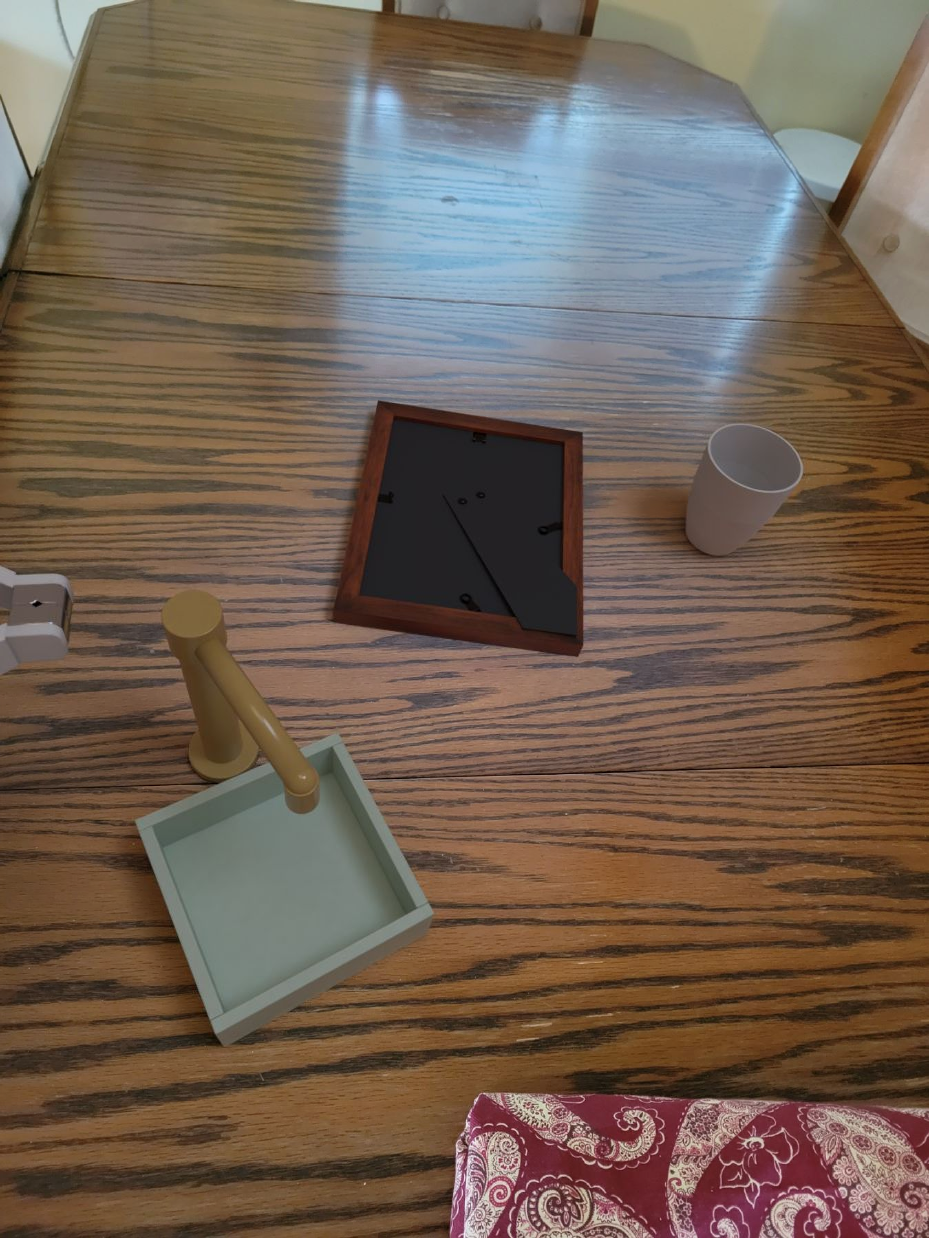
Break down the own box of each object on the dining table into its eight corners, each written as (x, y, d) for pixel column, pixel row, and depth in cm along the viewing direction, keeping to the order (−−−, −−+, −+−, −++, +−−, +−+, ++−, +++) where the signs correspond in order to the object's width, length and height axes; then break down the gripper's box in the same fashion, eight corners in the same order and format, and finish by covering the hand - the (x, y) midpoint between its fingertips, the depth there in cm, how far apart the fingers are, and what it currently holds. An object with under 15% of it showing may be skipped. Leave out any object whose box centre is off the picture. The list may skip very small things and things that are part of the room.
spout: (162, 645, 48) (150, 605, 45) (212, 621, 50) (204, 580, 47) (285, 828, 43) (281, 797, 40) (337, 795, 45) (337, 763, 41)
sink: (427, 933, 54) (434, 913, 50) (224, 1047, 49) (215, 1034, 45) (337, 761, 60) (337, 731, 56) (147, 846, 55) (134, 819, 51)
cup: (766, 567, 76) (818, 491, 68) (684, 571, 75) (727, 494, 66) (736, 501, 81) (781, 422, 73) (658, 503, 79) (695, 423, 71)
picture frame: (578, 656, 68) (578, 445, 82) (584, 643, 66) (583, 430, 81) (333, 622, 67) (377, 414, 81) (333, 607, 65) (378, 398, 80)
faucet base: (238, 793, 58) (215, 692, 46) (176, 767, 58) (138, 661, 47) (271, 736, 60) (257, 627, 49) (211, 712, 61) (183, 599, 49)
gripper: (-593, 911, 21) (8, 846, 24) (-313, 379, 32) (71, 379, 35) (-416, 971, 26) (62, 911, 29) (-228, 493, 37) (102, 485, 40)
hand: (68, 616), depth 32 cm, fingers closed
